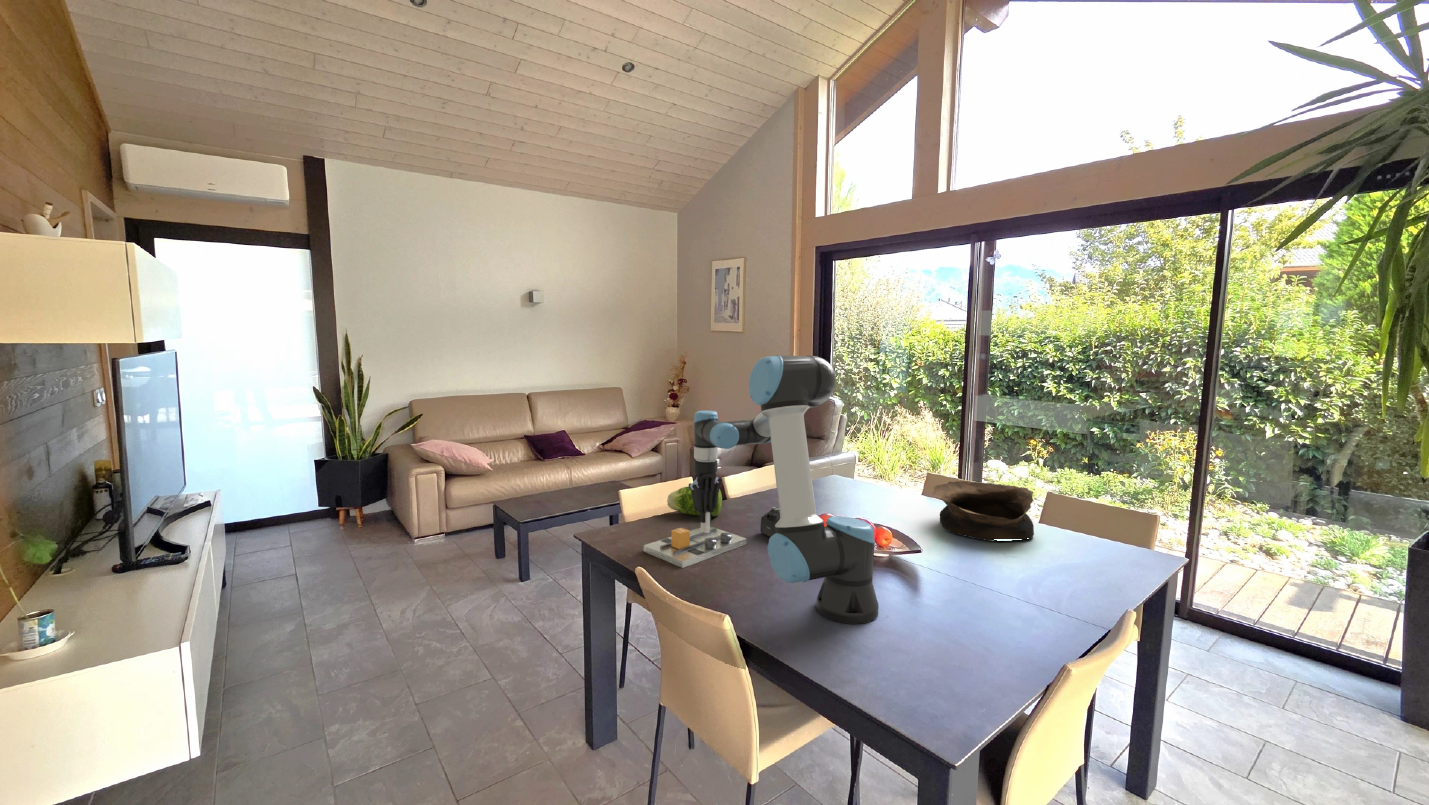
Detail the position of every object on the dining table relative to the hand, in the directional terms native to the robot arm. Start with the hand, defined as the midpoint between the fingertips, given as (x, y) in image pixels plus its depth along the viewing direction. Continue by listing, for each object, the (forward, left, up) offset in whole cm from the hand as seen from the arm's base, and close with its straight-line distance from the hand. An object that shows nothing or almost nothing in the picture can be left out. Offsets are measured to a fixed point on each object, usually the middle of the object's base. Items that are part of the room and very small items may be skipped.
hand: (705, 531), depth 196 cm
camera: (-11, -24, -5) cm, 27 cm away
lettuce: (+25, -19, -5) cm, 32 cm away
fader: (0, +10, -2) cm, 11 cm away
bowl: (-56, -81, -5) cm, 99 cm away
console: (0, +4, -5) cm, 6 cm away
